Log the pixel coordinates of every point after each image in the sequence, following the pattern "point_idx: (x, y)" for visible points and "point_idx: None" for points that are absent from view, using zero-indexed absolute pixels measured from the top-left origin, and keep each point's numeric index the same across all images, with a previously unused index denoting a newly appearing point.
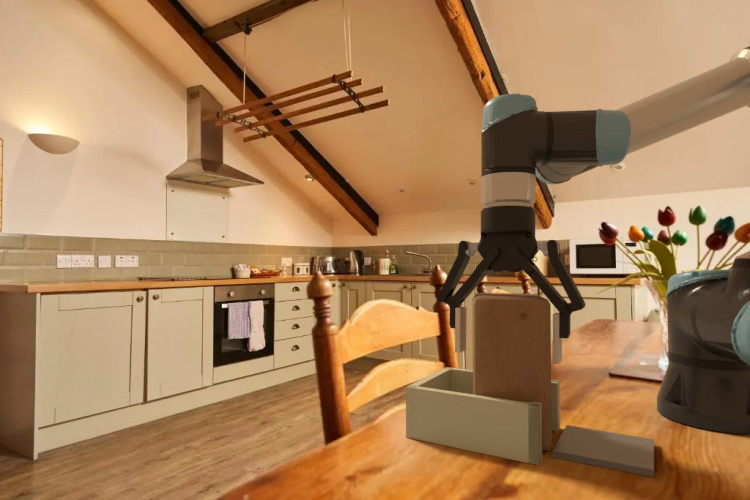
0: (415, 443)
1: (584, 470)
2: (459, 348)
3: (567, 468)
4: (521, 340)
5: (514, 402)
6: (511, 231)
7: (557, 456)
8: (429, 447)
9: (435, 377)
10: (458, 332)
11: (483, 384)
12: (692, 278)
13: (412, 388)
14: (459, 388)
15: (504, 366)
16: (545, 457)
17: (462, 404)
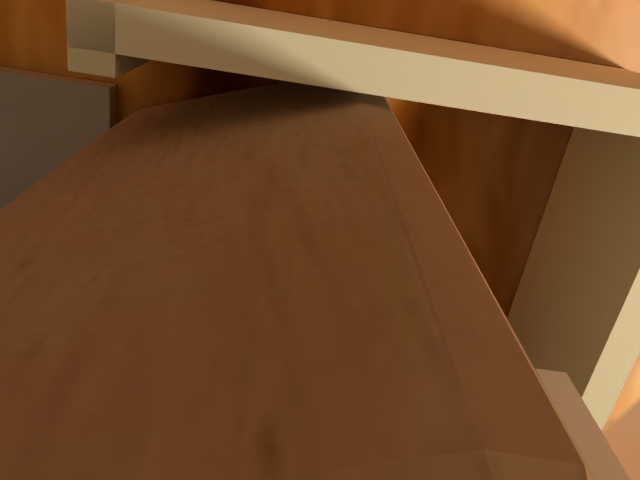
0: (584, 23)
1: (7, 8)
2: (546, 386)
3: (57, 3)
4: (56, 265)
5: (186, 30)
6: None
7: (100, 82)
8: (529, 4)
9: (606, 337)
10: (600, 468)
11: (352, 117)
12: None
13: None
14: None
15: (228, 167)
16: (137, 72)
17: (442, 53)
